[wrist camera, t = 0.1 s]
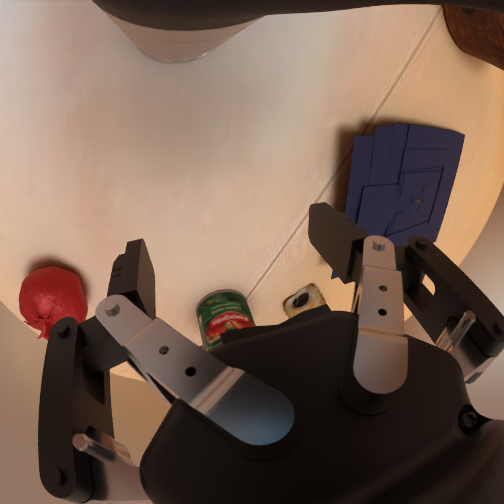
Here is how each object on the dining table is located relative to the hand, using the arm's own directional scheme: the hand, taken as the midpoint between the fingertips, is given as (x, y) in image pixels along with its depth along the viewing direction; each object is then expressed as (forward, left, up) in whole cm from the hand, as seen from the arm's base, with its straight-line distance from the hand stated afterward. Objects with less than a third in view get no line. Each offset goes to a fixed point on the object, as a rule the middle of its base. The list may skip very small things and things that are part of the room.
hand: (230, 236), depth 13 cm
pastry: (+28, +14, -18) cm, 36 cm away
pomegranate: (+13, -22, -18) cm, 31 cm away
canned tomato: (+24, 0, -18) cm, 30 cm away
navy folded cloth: (+10, +31, -18) cm, 37 cm away
